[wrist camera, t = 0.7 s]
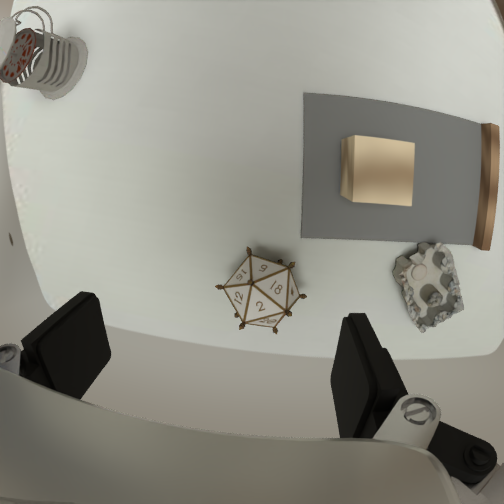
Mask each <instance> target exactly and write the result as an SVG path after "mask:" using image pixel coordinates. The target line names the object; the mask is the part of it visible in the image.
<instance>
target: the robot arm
mask: <svg viewBox="0 0 504 504" xmlns="http://www.w3.org/2000/svg"><path fill="white" fill-rule="evenodd" d="M21 342H22V345H23V347H24V350H23V351H21V349H20V348H19V346H18V345H16V344H4V345H1V346H0V504H504V463H502V465H501V466H500V465H499V464H497V454H496V451H495V449H494V448H493V447H492V446H491V444H490V443H488V442H486V441H484V440H482V439H479V438H477V437H475V436H473V435H470V434H468V433H466V432H463V431H461V430H459V429H456V428H454V427H452V426H450V425H448V424H446V423H443V422H441V421H440V418H441V410H440V407H439V406H438V404H437V403H436V402H435V401H434V400H433V399H431V398H429V397H427V396H425V395H421V394H409V395H408V392H407V390H406V388H405V386H404V384H403V381H402V380H401V377H400V375H399V373H398V371H397V369H396V367H395V364H394V362H393V360H392V358H391V356H390V354H389V352H388V350H387V349H386V348H382V346H381V344H380V342H379V340H378V338H377V336H376V334H375V332H374V330H373V328H372V326H371V324H370V322H369V320H368V318H367V316H366V314H365V313H349V315H348V317H344V318H343V321H342V326H341V331H340V336H339V341H338V346H337V350H336V355H335V360H334V364H333V368H332V373H331V388H332V393H333V399H334V404H335V410H336V416H337V422H338V428H339V434H340V438H293V437H291V438H290V437H270V436H257V435H244V434H234V433H225V432H216V431H210V430H203V429H197V428H191V427H184V426H179V425H174V424H169V423H163V422H159V421H155V420H150V419H146V418H141V417H137V416H133V415H129V414H126V413H122V412H118V411H114V410H111V409H108V408H104V407H101V406H98V405H95V404H91V403H88V402H85V401H82V400H80V399H81V398H82V396H83V395H84V394H85V392H86V391H87V389H88V388H89V387H90V386H91V384H92V383H93V382H94V380H95V379H96V378H97V376H98V375H99V373H100V372H101V371H102V369H103V368H104V367H105V365H106V364H107V363H108V361H109V360H110V358H111V350H110V346H109V342H108V338H107V334H106V330H105V325H104V321H103V316H102V312H101V307H100V302H99V299H98V298H97V297H96V295H95V294H94V293H90V292H83V291H81V292H79V293H78V294H77V295H76V296H74V297H73V298H72V299H70V300H69V301H68V302H67V303H65V304H64V305H63V306H62V307H60V308H59V309H58V310H57V311H55V312H54V313H53V314H52V315H51V316H50V317H48V318H47V319H46V320H44V321H43V322H42V323H41V324H40V325H39V326H37V327H36V328H35V329H34V330H33V331H31V332H30V333H29V334H28V335H27V336H25V337H24V338H23V339H22V340H21Z"/></svg>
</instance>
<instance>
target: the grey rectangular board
mask: <svg viewBox="0 0 504 504" xmlns="http://www.w3.org/2000/svg"><path fill="white" fill-rule="evenodd" d="M354 135H359V136H368V137H376V138H384V139H392V140H399V141H405V142H412V143H415V155H414V179H413V194H412V206H402V205H390V204H377V203H362V202H352V201H350V200H348V199H347V198H345V197H343V196H341V195H340V194H339V191H340V164H341V139H344V138H347V137H350V136H354ZM480 177H481V124H480V123H476V122H473V121H470V120H466V119H463V118H459V117H456V116H452V115H448V114H444V113H440V112H436V111H432V110H427V109H423V108H418V107H413V106H408V105H403V104H398V103H392V102H386V101H380V100H373V99H366V98H358V97H349V96H340V95H329V94H316V93H304V159H303V199H302V226H301V238H323V239H351V240H376V241H398V242H420V243H422V242H426V243H440V242H441V243H442V244H458V245H473V240H474V234H475V227H476V220H477V212H478V202H479V192H480Z"/></svg>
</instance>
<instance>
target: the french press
mask: <svg viewBox="0 0 504 504" xmlns="http://www.w3.org/2000/svg"><path fill="white" fill-rule="evenodd" d="M32 8H38V9H40V10H42V11H43V12H45V13H46V14H47V16H48V17H49V19H50V23H51V33H48V32H46V31H45V26H44V22H43V19H42V18H41V16H40V15H39V14H38V13H37V12H34V11H32V10H27V9H32ZM26 11H29V12H32V13H34V14H36V15H37V16H38V17H39V18H40V20H41V21H42V25H43V30H41V29H35V30H38V31H40V32H43V35H42V34H39V33H36V32H34V31H33V30H32V29H31V28H26V29H23V30H21V31H20V32H18V33H17V34H16V26H17V25H20V24H21V22H20V21H18V20H17V18H18V17H19V16H20V14H21V13H22V12H26ZM18 13H19V14H18ZM17 14H18V15H17ZM15 15H17V16H16V19H15V20H16V22H18V24H16V22H15V21H14V20H13V19H12V18H13V17H14V16H15ZM51 36H53V37H54V39H52V38H51ZM57 38H58V39H60V41H57ZM37 47H40V48H39V49H38V50H36V51H35V52H34V49H35V48H37ZM42 49H43V52H41V53H40V54H39V56H38V57H37V58H36V60H35V62H34V67H33V70H34V71H33V72H32V73H31V64H32V60H33V59H34V57H35V56H36V55H37V53H38V52H39V51H41V50H42ZM33 52H34V54H33ZM87 55H88V51H87V47H86V44H85V42H84V41H82V40H81V39H80V38H77V37H70V38H67V39H64V38H62V37H60V36H58V35H55V34H53V23H52V18H51V16H50V15H49V13H48V12H47V11H46V10H45V9H43V8H41V7H38V6H32V7H28V8H26V9H24V10H21V11H19V12H17V13H15V14H14V15H13V16H12V17H7V18H3V19H2V20H0V79H1V80H2V82H5V83H9V84H10V85H11V86H16V87H23V88H29V89H35V90H40V92H41V93H42V94H43V96H44V97H45V98H48V99H52V100H54V99H57V98H60V97H63V96H64V95H66V94H67V93H68V92H69V91H71V90H72V89H73V88H74V86H75V85H76V83H77V82H78V81H79V79H80V78H81V76H82V74H83V71H84V69H85V66H86V64H87ZM27 65H28V72H29V77H27V73H26V70H25V68H26V66H27ZM22 72H23V74H24V77H25V81H23V79H22V76H21V73H22ZM18 76H19V79H20V82H21V84H18V82H17V79H16V78H18Z"/></svg>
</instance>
